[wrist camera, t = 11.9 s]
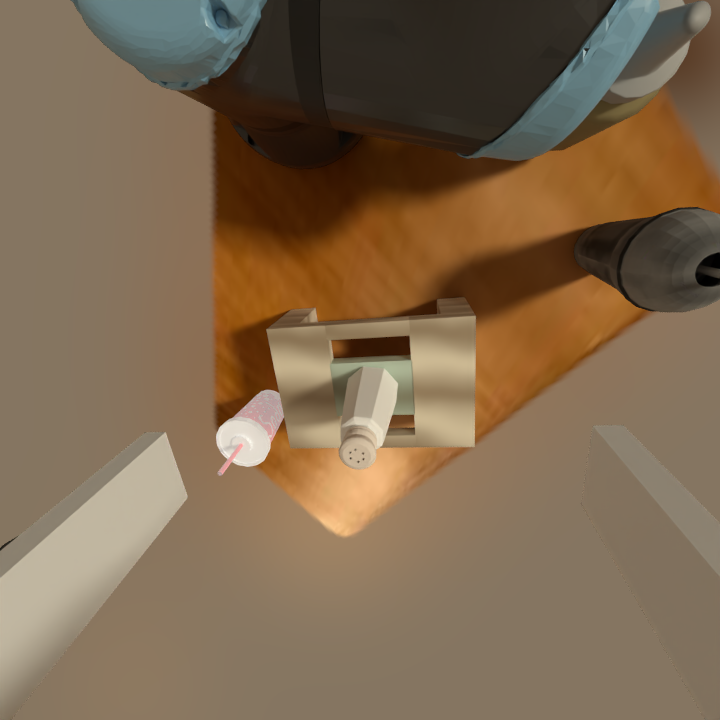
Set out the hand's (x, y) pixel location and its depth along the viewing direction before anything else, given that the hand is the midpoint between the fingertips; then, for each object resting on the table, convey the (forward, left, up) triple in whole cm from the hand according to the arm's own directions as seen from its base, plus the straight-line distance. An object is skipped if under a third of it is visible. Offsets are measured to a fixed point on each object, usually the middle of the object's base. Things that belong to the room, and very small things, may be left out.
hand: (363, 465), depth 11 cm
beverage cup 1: (+15, -18, -32) cm, 40 cm away
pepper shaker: (+9, -3, -24) cm, 26 cm away
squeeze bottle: (-15, +14, -32) cm, 38 cm away
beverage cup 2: (-2, +20, -32) cm, 38 cm away
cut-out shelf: (+9, -3, -32) cm, 33 cm away
